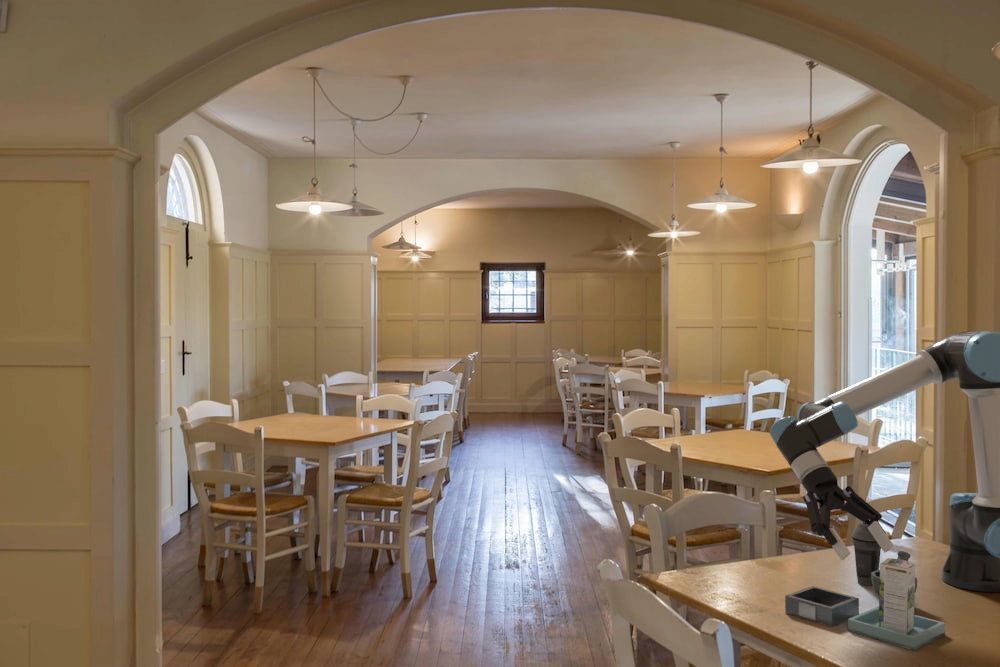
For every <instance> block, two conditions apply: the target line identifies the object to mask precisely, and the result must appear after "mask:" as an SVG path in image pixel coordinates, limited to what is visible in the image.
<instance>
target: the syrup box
mask: <svg viewBox="0 0 1000 667" xmlns="http://www.w3.org/2000/svg"><path fill="white" fill-rule="evenodd" d="M879 570H880V590H879V595H878V596H879V599H878V600H879V601H878V602H879V603H878V604H879V605H878V606H879V627H882V628H885V629H889V630H892V631H896V632H899V633H902V634H906V635H908V634H909V633H910V632H911V631H912V630H913V629H914V615H915V603H916V602H915V600H916V592H915V577H916V563H915V562H912V561H909V560H908V561H905V560H900V559H897V558H894V557H893V558H890V557H888V558H886V559H885V560H884V561H882V562H881V563H879Z"/></svg>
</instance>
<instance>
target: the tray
mask: <svg viewBox="0 0 1000 667" xmlns="http://www.w3.org/2000/svg"><path fill="white" fill-rule="evenodd" d="M847 631H848V632H851V633H854V634H858V635H861V636H864V637H867V636H868V638H870V637H872V638H871V639H874V640H877V639H878V640H877V641H880V640H881V642H885V643H887V644H891V645H893V646H898V647H901V648H903V649H908V650H909V651H910V650H911V651H914V652H915V651H916V650H918V649H920V648H922V647H924V646H926V645H928V644H930V643H931V642H934V641H936V640H937V639H940V638H942V637H943V636H945V635H946V623H945V622H943V621H939V620H936V619H932V618H928V617H925V616H920V615H917V614H914V629H913V630H912V631H911V632H910V633H909V634H908V635H906V634H902V633H899V632H896V631H892V630H889V629H885V628H882V627H879V605H878V606H876V607H874V608H871V609H869V610H866V611H865V612H864V611H863V612H862V613H859V615H857V616H854V617H852V618H849V619H848V621H847Z"/></svg>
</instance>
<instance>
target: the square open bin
mask: <svg viewBox="0 0 1000 667" xmlns="http://www.w3.org/2000/svg"><path fill="white" fill-rule="evenodd" d="M784 599H785V600H784V601H785V602H784V603H785V604H784V608H785V610H784V611H785V612H784V613H785V614H788V615H790V614H791V616H794V617H798V618H800V617H801V618H802V619H804V620H807V619H808V621H810V620H812V621H811V622H814V623H817V622H818V624H820V623H822V624H821V625H823V624H825V625H824V626H826V627H830V628H833V627H836V626H838V625H840V624H842V623H843V624H844V623H845V622H848V619H849V618H852V617H854V616H857V615H859V614H860V600H859V599H860V598H859V597H856V596H853V595H848V594H844V593H842V592H836V591H834V590H829V589H826V588H823V587H818V586H815V585H811V586H808V587H805V588H802V589H800V590H797V591H793V592H791V593H788V594H786V595H785V598H784Z"/></svg>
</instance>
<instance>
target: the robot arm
mask: <svg viewBox="0 0 1000 667" xmlns="http://www.w3.org/2000/svg"><path fill="white" fill-rule="evenodd" d="M954 379H958V384H959V390H960V391H961V392H963V393H964V394H966V395H967V400H968V409H969V416H970V418H969V419H970V426H971V429H970V430H971V435H972V445H973V446H972V447H973V454H974V461H975V462H974V464H975V473H976V482H977V490H978V491H977V492H955V493H953V494H951V495H950V498H949V499H950V500H949V505H948V508H949V551H948V554H947V556H946V560H945V562H944V564H943V568H942V571H941V572H942V573H941V579H942V581H943V582H944V583H946V584H948V585H950V586H953V587H956V588H960V589H963V590H967V591H968V590H970V591H975V592H984V593H1000V332H997V331H992V330H980V331H978V330H977V331H972V330H971V331H970V330H967V331H960V332H957V333H954V334H951V335H949V336H947V337H945V338H943V339H940V340H939V341H937V342H935V343H932V344H931V345H929V346H927V347H925V348H922V349H920V350H919V351H918V353H917V356H914V357H912V358H910V359H907V360H906V361H904V362H901V363H899V364H897V365H895V366H892V367H890V368H888V369H886V370H883V371H881V372H879V373H876V374H875V375H872V376H870V377H868V378H865V379H864V380H861V381H859V382H857V383H855V384H852V385H850V386H848V387H846V388H844V389H841V390H839V391H836V392H834V393H833V394H830V395H828V396H826V397H823V398H821V399H819V400H816V401H808V402H805V403H803V404H802V405H801V406H799V408H798V410H797V412H796V417H794V416H792V415H788V416H784V417H782V418H778V419H777V420H776V421H774V422H773V424H771V427H769V428H770V429H769V436H770V437H771V439H772V440H773V441H774V444H775V445H776V448H777V449H778V450H779V451H780V454H782V456H783V457H784V459H785V461H786V463H788V465H789V466H790V468H791V469H792V471H793V472H794V474H795V475H796V477H797V478H798V480H799V481H800V482H801V484H802V486H803V488H804V489H805V491H806V493H805V494H804V496H803V497H802V499H803V501H804V504H805V505H806V510H807V515H808V519H809V524H810V530H811V532H812V533H816V534H817V536H819V537H822V536H823V537H824V539H825V540H826V541H827V543H828V545H829V546H831V547H832V549H833V550H834V552H835V553H836V555H837V556H838V558H839V559H840V561H845V559H847V557H849V556H850V554H851V552H850V550H849V549H848V547H847V545H846V544H845V542H844V541H843V540H842V538H841V536H840V535H839V534H838V532H837V530H836V529H835V528H834V527H831V514H832V513H831V511H834V510H841V511H843V512H847V513H849V514H850V515H851V516H853V517H855V518H856V519H858V520H859V521H861V523H866V524H867V525H869V527H868V530H869V531H870V532H871V534H872V535H873V537H874V538H875V540H876V541H877V543H878V544H879V545H880V547H881V551H882V552H884V553H888V552H889V551H890V550H891V549H892V548H893V547H894V546H895V545H894V544H893V542H892V541H891V539H890V538H889V536H888V535H887V532H886V530H884V528H883V527H882V525H881V524H880V522H879V521H880V520H881V519H882V518H883V515H882V514H881V513H880V512H879V511H877V509H876V508H874V507H873V506H871V504H869V503H868V502H867V501H866V500H864V499H863V498H862V497H861V496H860V495H859V494H857V493H856V492H855V491H854V490H853V488H852V486H850V485H847V486H846V487H845V488H843V489H842V488H841V487H840V486H839V484H838V477H837V476H836V474H835V473H834V472H833V470H832V469H831V468H830V466H829V465H828V462H827V461H826V459H825V458H824V457H823V456H822V454H821V453H820V451H819V450H818V449H817V448H819V447H821V446H824V445H826V444H828V443H830V442H833V441H834V440H836V439H838V438H840V437H843V436H845V435H848V434H849V433H851V432H852V431H853V430H855V429H857V427H858V425H859V422H858V419H857V417H858V416H859V415H862V414H865V413H866V412H869V411H872V410H873V409H876V408H878V407H881V406H883V405H885V404H887V403H890V402H891V401H895V400H896V399H898V398H901V397H903V396H906V395H907V394H909V393H912V392H914V391H917V390H918V389H921V388H923V387H926V386H927V385H930V384H936V385H940V384H942V383H945V382H948V381H951V380H954ZM828 466H829V467H828ZM868 519H869V520H868Z"/></svg>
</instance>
